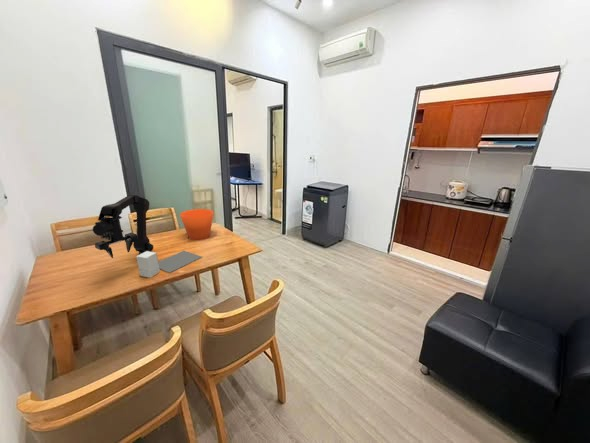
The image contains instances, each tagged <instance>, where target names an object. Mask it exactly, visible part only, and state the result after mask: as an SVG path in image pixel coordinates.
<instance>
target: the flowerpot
mask: <svg viewBox="0 0 590 443" xmlns="http://www.w3.org/2000/svg"><path fill="white" fill-rule="evenodd" d="M214 215H215V214H214V211H213V210H212V209H206V208H194V209H188V210H185V211H182V212H180V213H179V216H180V219H181V221H182V224H183V226H184V230H185V231H186V234H187V237H188V239H189V240H192V241H201V240H207V239H209V238H210V236H211V231H212V226H213V225H212V224H213V221H214V220H213V219H214Z"/></svg>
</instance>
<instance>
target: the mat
mask: <svg viewBox="0 0 590 443" xmlns="http://www.w3.org/2000/svg"><path fill="white" fill-rule="evenodd" d="M202 258H203V256H201V255H198V254H195V253H192V252H190V251H186V250H182V251H180V252H178V253H175V254H173V255H171V256H167V257H166V258H164V259H161V260H158V264H159V270H160V271H163V272H164V273H168V274H171V273H173V272H176V271H178V270H180V269H182V268H183V267H186V266H187V265H190V264H193V262H195V261H198V260H200V259H202Z"/></svg>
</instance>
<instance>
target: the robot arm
mask: <svg viewBox="0 0 590 443" xmlns="http://www.w3.org/2000/svg"><path fill="white" fill-rule="evenodd" d="M131 205H132V206H133V207H132V208H133V210H134V212H135V213H136V233H134V232H128V233H125V234H123V233H124V230H123V229H122V226H121V221H120V219H122V218H123V217H122V216H120V215H121V214H122V213H123V210H124V209H126V208H128V207H129V206H131ZM149 208H150V201H149V200H148V199H146V198H144V197H141V196H139V195H136V194H127V195H126V196H124V197H123V198H121V199H120V200H117V201H116V202H115V203H111V204H106V205H103V206H102V207H101V209H100V211H99V215H98V218H97V221H96V222H94V224H95V225H93V227H92V232H93V234H95V235H96V236H98V237H99V236H100V239H102V240H101V241H97V242H95V243H94V247H95V249H97V250H98V251H106V253H107V254H108V256H110V257H111V259H113V258H114V254H113V249H112V247H110V245H114V244H118V243H120V242H123V241H124V242H125V247H126V251H127V253H130V251H131V249H132V246H133V248H134V250H135V251H136V252H138V255H140V254H142V253H144V252H146V251H149V252H153V249H154V245H153V244H152V243H151V242H150V239H149V237H148V236H147V212H148V211H149ZM103 239H105V240H108V241H104V240H103ZM138 255H137V256H138Z"/></svg>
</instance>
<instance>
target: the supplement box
mask: <svg viewBox="0 0 590 443" xmlns="http://www.w3.org/2000/svg"><path fill="white" fill-rule="evenodd" d="M157 254H158V253H157V252H154V251H152V252H149V251H146V252H144V253H142V254H140V255H136V261H137V267H138V271H139V272H138V273H139V276H140V277H145V278H149V279H151V278H153V277H154V276H155V275H157V274H159V273H160V271H161V270H160V269H159V264H158V261H159V260H158V255H157Z"/></svg>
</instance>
